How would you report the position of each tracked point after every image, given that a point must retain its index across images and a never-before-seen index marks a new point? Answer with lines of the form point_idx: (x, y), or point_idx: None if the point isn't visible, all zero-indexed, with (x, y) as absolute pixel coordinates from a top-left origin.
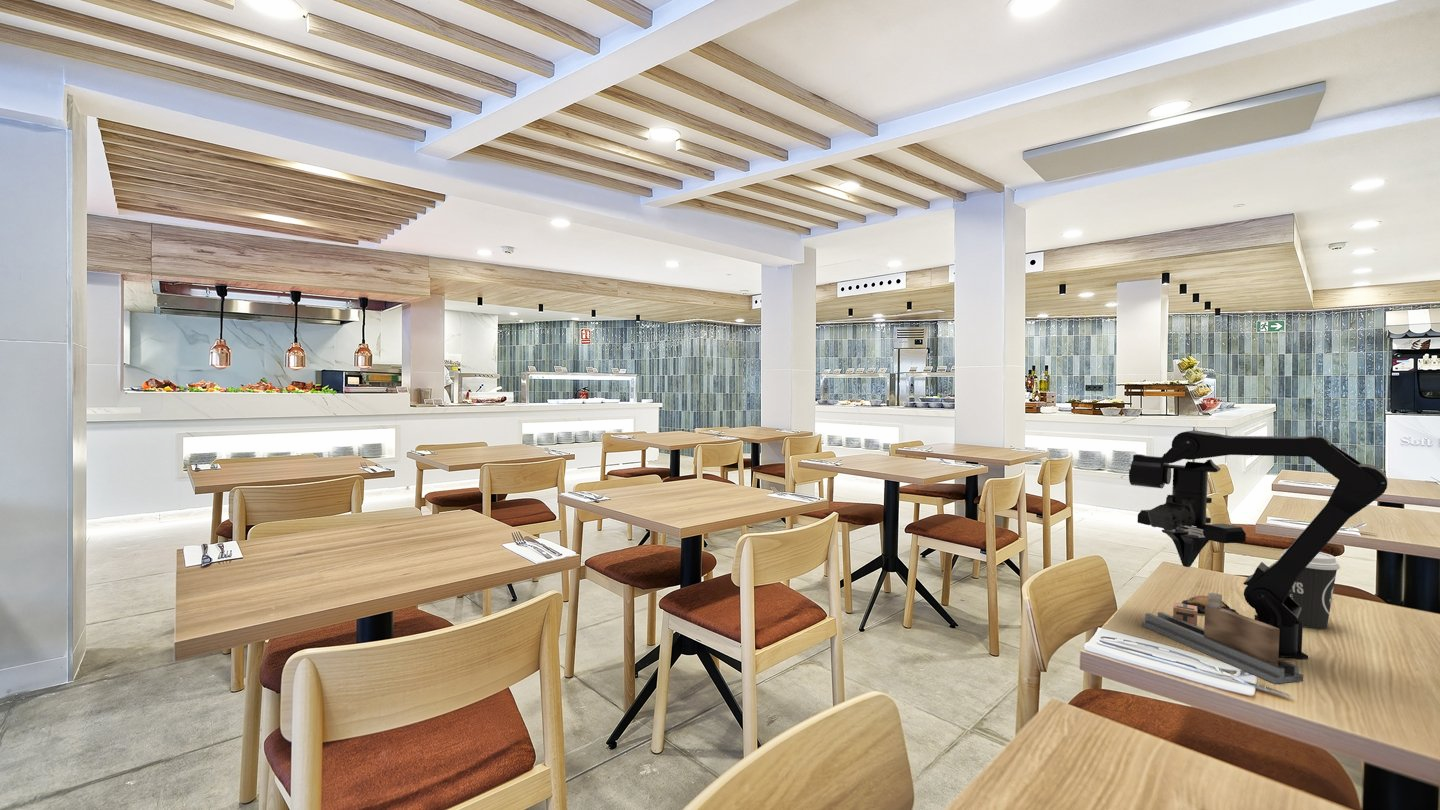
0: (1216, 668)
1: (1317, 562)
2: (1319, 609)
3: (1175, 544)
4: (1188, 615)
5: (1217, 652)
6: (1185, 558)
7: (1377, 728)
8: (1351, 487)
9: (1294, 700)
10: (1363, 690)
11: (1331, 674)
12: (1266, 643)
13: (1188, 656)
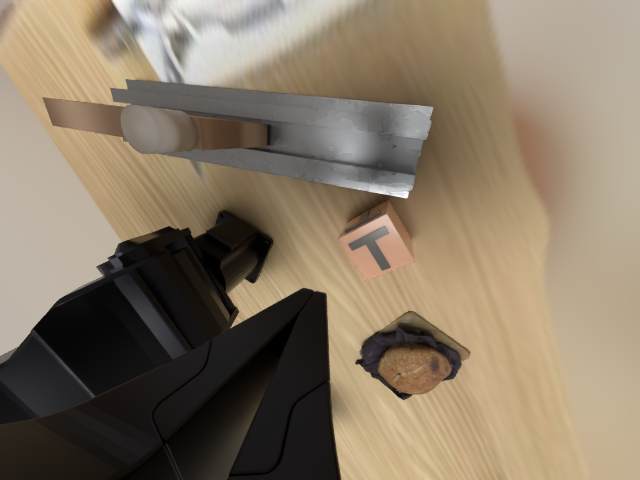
0: (190, 26)
1: None
2: None
3: (322, 443)
4: (355, 223)
5: (223, 93)
6: (281, 315)
7: (39, 74)
8: None
9: (88, 41)
10: (133, 200)
11: (172, 221)
12: (103, 104)
13: (245, 22)
